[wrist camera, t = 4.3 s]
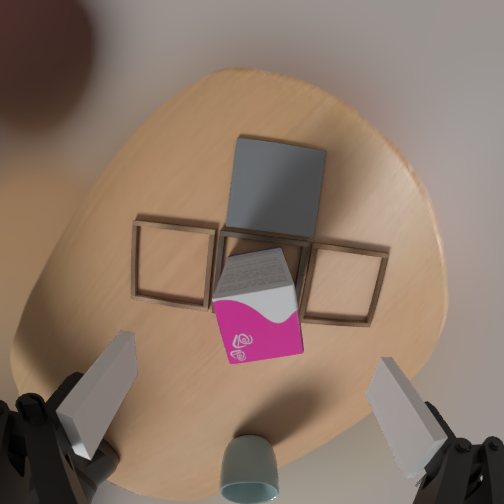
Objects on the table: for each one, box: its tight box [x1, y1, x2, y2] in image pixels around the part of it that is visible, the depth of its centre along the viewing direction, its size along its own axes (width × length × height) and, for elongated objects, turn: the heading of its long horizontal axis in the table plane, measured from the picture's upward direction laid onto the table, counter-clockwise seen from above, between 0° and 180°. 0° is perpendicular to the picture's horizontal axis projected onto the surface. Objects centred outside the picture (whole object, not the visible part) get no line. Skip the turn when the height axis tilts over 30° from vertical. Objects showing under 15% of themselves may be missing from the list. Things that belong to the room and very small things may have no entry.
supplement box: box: [212, 247, 304, 364], centre depth 25 cm, size 6×6×12 cm
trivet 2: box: [299, 242, 389, 327], centre depth 30 cm, size 9×9×1 cm
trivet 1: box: [131, 220, 216, 312], centre depth 30 cm, size 9×9×1 cm
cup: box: [219, 435, 279, 504], centre depth 31 cm, size 8×8×10 cm
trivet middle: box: [212, 230, 308, 313], centre depth 30 cm, size 9×9×1 cm
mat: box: [226, 138, 326, 238], centre depth 28 cm, size 9×9×1 cm
